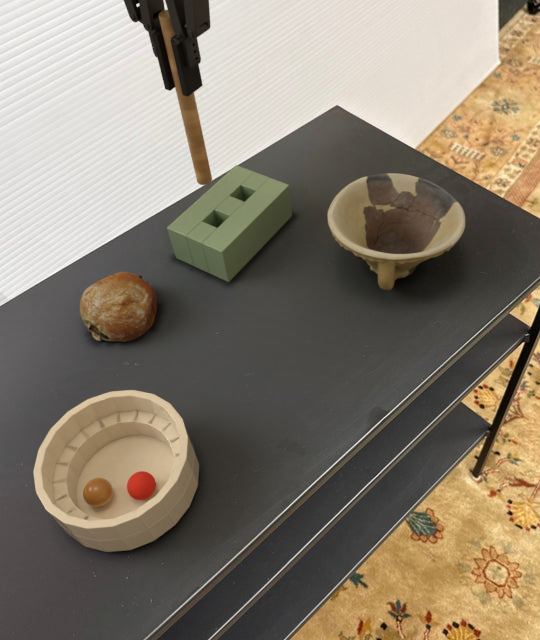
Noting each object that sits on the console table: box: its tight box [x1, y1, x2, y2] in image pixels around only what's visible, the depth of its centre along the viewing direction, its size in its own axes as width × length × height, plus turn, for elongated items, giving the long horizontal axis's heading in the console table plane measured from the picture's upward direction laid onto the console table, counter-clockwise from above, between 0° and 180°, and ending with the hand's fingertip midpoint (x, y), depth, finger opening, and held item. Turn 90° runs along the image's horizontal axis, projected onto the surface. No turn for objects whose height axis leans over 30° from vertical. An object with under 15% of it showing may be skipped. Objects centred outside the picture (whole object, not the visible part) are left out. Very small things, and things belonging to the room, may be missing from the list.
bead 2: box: [127, 471, 156, 500], centre depth 69 cm, size 3×3×3 cm
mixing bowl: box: [33, 389, 200, 553], centre depth 69 cm, size 16×16×7 cm
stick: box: [158, 9, 213, 186], centre depth 77 cm, size 2×2×22 cm
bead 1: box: [83, 478, 113, 507], centre depth 69 cm, size 3×3×3 cm
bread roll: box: [79, 271, 158, 343], centre depth 86 cm, size 10×10×8 cm
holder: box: [166, 164, 293, 283], centre depth 94 cm, size 10×16×6 cm, turn 148°
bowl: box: [326, 172, 466, 291], centre depth 88 cm, size 18×18×10 cm
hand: (183, 87), depth 75 cm, fingers closed on stick, 2 cm apart
